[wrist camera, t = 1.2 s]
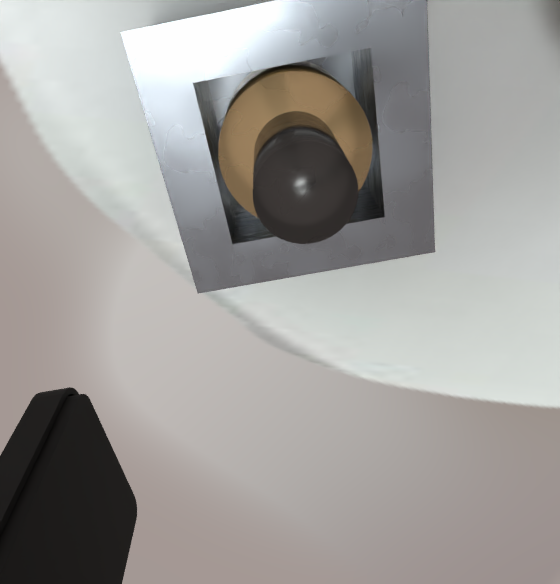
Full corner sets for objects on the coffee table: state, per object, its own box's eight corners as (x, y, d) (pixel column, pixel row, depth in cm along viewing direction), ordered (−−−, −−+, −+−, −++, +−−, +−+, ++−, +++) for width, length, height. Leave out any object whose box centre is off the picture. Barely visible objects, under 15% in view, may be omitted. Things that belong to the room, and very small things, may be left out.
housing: (388, -23, 27) (426, -31, 21) (402, 206, 34) (434, 251, 27) (150, 25, 28) (120, 32, 22) (208, 241, 34) (197, 293, 28)
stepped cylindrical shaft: (345, 46, 28) (396, 72, 17) (358, 178, 31) (408, 264, 21) (211, 73, 28) (183, 113, 18) (240, 200, 32) (231, 295, 21)
